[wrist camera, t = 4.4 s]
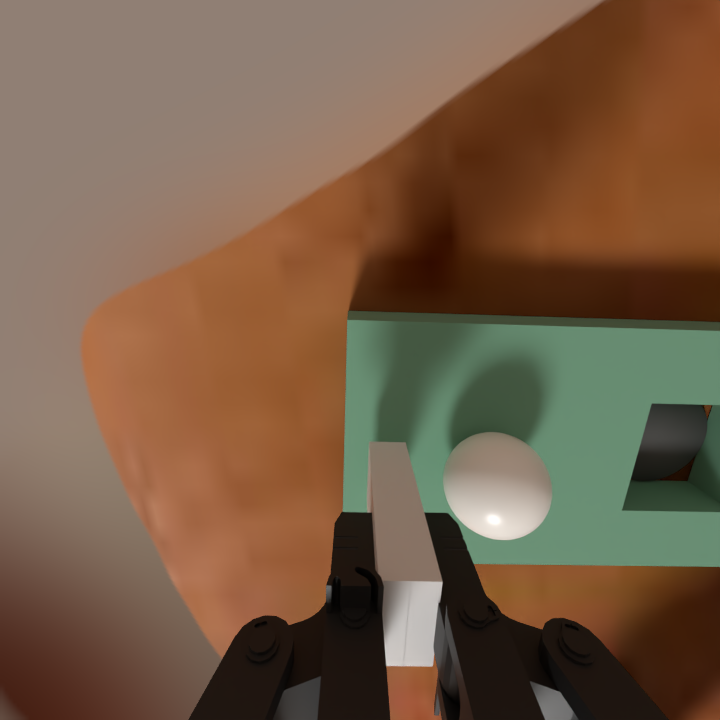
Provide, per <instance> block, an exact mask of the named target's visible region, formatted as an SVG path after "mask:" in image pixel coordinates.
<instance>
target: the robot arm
mask: <svg viewBox="0 0 720 720" xmlns="http://www.w3.org/2000/svg"><path fill="white" fill-rule="evenodd" d="M434 653H435V658H436V663H437V668H438V679H437V687H436V695H435V703H434V715H439V712H440V711H441V716H442V720H669V719H668V718H667V717H666V716H665V715H664V714H663V712H662V711H661V710H660V709H659V708H658V707H657V706H656V704H655V703H654V702H653V701H652V700H651V699H650V697H649V696H648V695H647V694H646V693H645V692H644V691H643V689H642V688H641V687H640V686H639V685H638V684H637V682H636V681H635V680H634V679H633V678H632V677H631V675H630V674H629V673H628V672H627V671H626V670H625V669H624V667H623V666H622V665H621V664H620V663H619V662H618V660H617V659H616V658H615V657H614V656H613V655H612V654H611V652H610V651H609V650H608V649H607V648H606V647H605V645H604V644H603V643H602V642H601V641H600V640H599V639H598V638H597V637H596V636H595V635H594V634H593V633H592V632H591V631H590V630H588V629H587V628H585V627H583V626H582V625H580V624H578V623H577V622H574V621H571V620H568V619H565V618H553V619H551V620H549V621H548V622H546V623H545V625H544V627H543V630H542V629H538V628H535V627H532V626H529V625H526V624H523V623H520V622H517V621H515V620H512V619H510V618H508V617H507V616H505V615H504V614H502V613H501V611H500V610H499V608H498V607H497V605H496V604H495V603H494V602H493V601H491V600H490V599H489V598H488V597H487V596H486V594H485V592H484V590H483V587H482V585H481V582H480V579H479V577H478V574H477V571H476V569H475V566H474V564H473V561H472V558H471V556H470V553H469V551H468V549H467V545H466V543H465V540H464V539H463V535H462V532H461V530H460V527H459V524H458V523H457V522H456V521H455V520H454V519H453V518H452V517H451V516H450V515H449V513H427V512H424V510H423V506H422V502H421V498H420V495H419V491H418V487H417V483H416V480H415V476H414V472H413V468H412V465H411V461H410V457H409V453H408V450H407V446H406V442H369V456H368V481H367V512H342V513H341V514H340V516H339V517H338V519H337V520H336V522H335V527H334V539H333V552H332V564H331V575H330V576H329V578H328V582H327V585H326V603H325V605H324V606H323V607H322V608H321V610H320V611H319V612H318V613H316V614H315V615H314V616H312V617H310V618H308V619H306V620H304V621H301V622H298V623H295V624H292V625H288V624H287V622H286V621H285V620H283V619H281V618H279V617H277V616H262V617H259V618H256V619H253V620H252V621H250V622H249V623H247V624H246V625H244V626H243V627H242V628H241V630H240V631H239V632H238V634H237V635H236V636H235V638H234V639H233V641H232V643H231V645H230V646H229V648H228V650H227V652H226V654H225V655H224V657H223V659H222V661H221V663H220V664H219V667H218V668H217V670H216V672H215V673H214V675H213V677H212V679H211V680H210V682H209V684H208V686H207V688H206V689H205V691H204V693H203V695H202V696H201V698H200V700H199V702H198V704H197V706H196V707H195V709H194V711H193V712H192V714H191V716H190V718H189V720H390V710H389V696H388V683H387V670H386V666H433V659H434Z"/></svg>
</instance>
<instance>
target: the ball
mask: <svg viewBox="0 0 720 720" xmlns="http://www.w3.org/2000/svg"><path fill="white" fill-rule="evenodd" d="M443 486H444V492H445V496H446V499H447V501H448V504H449V506H450V508H451V509H452V511H453V512H454V514H455V515H456V517H457V518H458V519H459V520H460V521H461V522H462V523H463V524H464V525H465V526H466V527H468V528H469V529H471V530H472V531H474V532H475V533H477V534H479V535H482V536H484V537H487V538H490V539H496V540H512V539H517V538H520V537H523V536H525V535H527V534H529V533H531V532H532V531H534V530H535V529H536V528H537V527H538V526H539V525H540V524H541V523H542V522H543V521H544V519H545V517H546V516H547V514H548V512H549V509H550V506H551V501H552V483H551V479H550V475H549V472H548V470H547V468H546V466H545V464H544V462H543V461H542V459H541V458H540V457H539V455H538V454H537V453H536V452H535V451H534V450H533V449H532V448H531V447H530V446H529V445H527V444H526V443H525V442H523V441H521V440H520V439H518V438H516V437H513V436H511V435H508V434H504V433H499V432H484V433H479V434H475V435H473V436H470V437H468V438H466V439H465V440H463V441H462V442H460V443H459V444H458V445H457V446H456V447H455V448H454V449H453V451H452V452H451V454H450V455H449V457H448V459H447V461H446V464H445V468H444V473H443Z"/></svg>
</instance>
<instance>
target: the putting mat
mask: <svg viewBox="0 0 720 720" xmlns="http://www.w3.org/2000/svg"><path fill="white" fill-rule="evenodd" d="M702 405H712V408H711V411H710V414H709V417H708V421H707V417H706V414H705V411H704V409H703V407H702ZM484 432H499V433H504V434H508V435H511V436H513V437H516V438H518V439H520V440H521V441H523V442H525V443H526V444H527V445H529V446H530V447H531V448H532V449H533V450H534V451H535V452H536V453H537V454H538V455H539V457H540V458H541V459H542V461H543V462H544V464H545V466H546V468H547V470H548V472H549V475H550V479H551V483H552V501H551V506H550V509H549V512H548V514H547V516H546V517H545V519H544V521H543V522H542V523H541V524H540V525H539V526H538V527H537V528H536V529H535V530H534V531H532V532H531V533H529V534H527V535H525V536H523V537H520V538H517V539H512V540H496V539H490V538H487V537H484V536H482V535H479V534H477V533H475V532H474V531H472V530H471V529H469V528H468V527H466V526H465V525H464V524H463V523H462V522H461V521H460V520H459V519H458V518H457V517H456V515H455V514H454V512H453V511H452V509H451V508H450V506H449V504H448V501H447V499H446V496H445V492H444V486H443V473H444V468H445V464H446V461H447V459H448V457H449V455H450V454H451V452H452V451H453V449H454V448H455V447H456V446H457V445H458V444H459V443H460V442H462V441H463V440H465V439H466V438H468V437H470V436H473V435H475V434H479V433H484ZM369 442H406V446H407V450H408V453H409V457H410V461H411V465H412V468H413V472H414V476H415V480H416V483H417V487H418V491H419V495H420V498H421V502H422V506H423V510H424V512H427V513H449V515H450V516H451V517H452V518H453V519H454V520H455V521H456V522H457V523H458V524H459V527H460V530H461V532H462V535H463V539H464V540H465V543H466V545H467V549H468V551H469V553H470V556H471V558H472V561H473V564H532V565H617V566H701V567H720V322H702V321H669V320H636V319H603V318H570V317H537V316H505V315H472V314H439V313H406V312H373V311H348V319H347V358H346V401H345V443H344V485H343V512H367V481H368V456H369ZM695 456H696V457H695ZM694 457H695V460H694V463H693V466H692V469H691V472H690V475H689V478H688V481H660V480H657V479H661V478H664V477H667V476H669V475H671V474H673V473H675V472H677V471H679V470H680V469H682V468H683V467H684V466H686V465H687V464H688V463H689V462H690V461H691V460H692V459H693V458H694ZM631 479H632V480H631Z"/></svg>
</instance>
